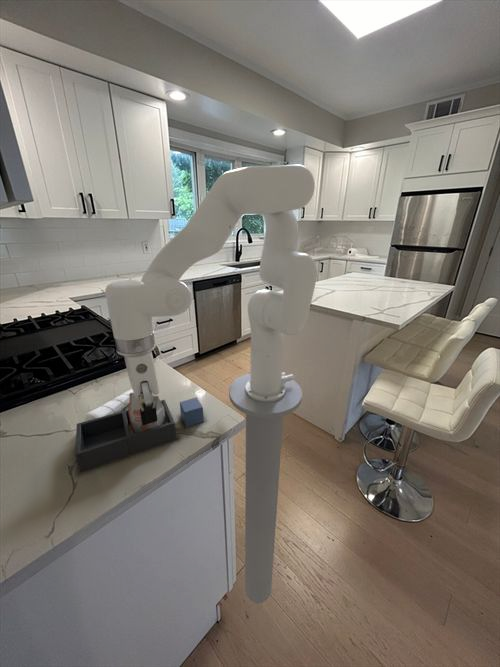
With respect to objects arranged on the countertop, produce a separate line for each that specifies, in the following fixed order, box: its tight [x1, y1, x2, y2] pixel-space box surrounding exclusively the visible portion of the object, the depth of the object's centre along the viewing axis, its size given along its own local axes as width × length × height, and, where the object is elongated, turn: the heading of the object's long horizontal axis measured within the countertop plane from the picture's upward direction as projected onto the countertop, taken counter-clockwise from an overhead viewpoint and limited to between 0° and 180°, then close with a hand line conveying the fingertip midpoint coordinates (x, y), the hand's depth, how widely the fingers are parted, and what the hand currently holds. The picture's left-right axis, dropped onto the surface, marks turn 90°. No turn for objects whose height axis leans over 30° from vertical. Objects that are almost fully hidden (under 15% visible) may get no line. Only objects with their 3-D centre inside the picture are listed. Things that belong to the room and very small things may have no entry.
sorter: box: [74, 399, 178, 473], centre depth 63 cm, size 19×10×5 cm, turn 119°
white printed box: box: [128, 393, 166, 433], centre depth 64 cm, size 4×7×10 cm, turn 79°
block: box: [179, 396, 204, 428], centre depth 70 cm, size 4×4×4 cm
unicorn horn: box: [84, 388, 134, 422], centre depth 75 cm, size 5×24×5 cm, turn 160°
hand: (146, 411), depth 63 cm, fingers closed on white printed box, 7 cm apart
